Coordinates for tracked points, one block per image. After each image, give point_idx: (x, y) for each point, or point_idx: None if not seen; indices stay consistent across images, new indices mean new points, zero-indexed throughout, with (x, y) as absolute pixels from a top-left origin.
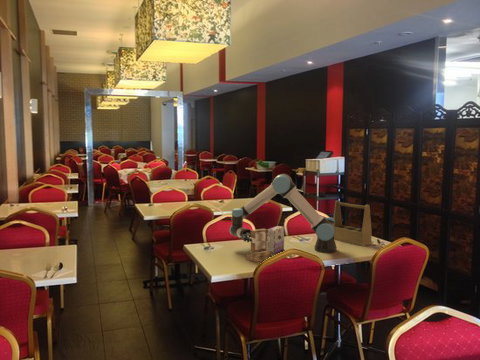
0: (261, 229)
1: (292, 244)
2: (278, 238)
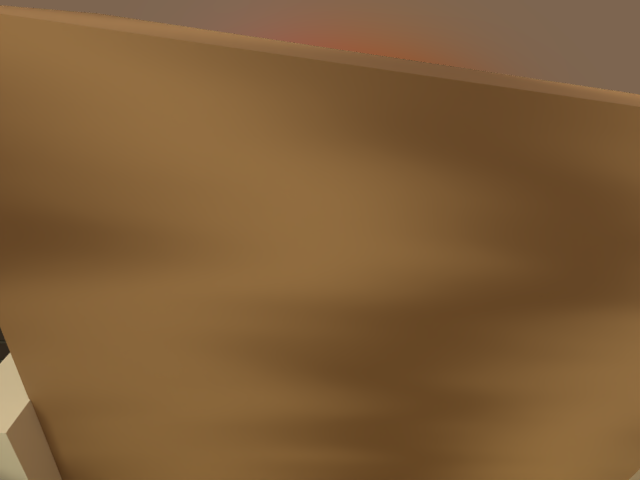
0: (269, 44)
1: None
2: None
